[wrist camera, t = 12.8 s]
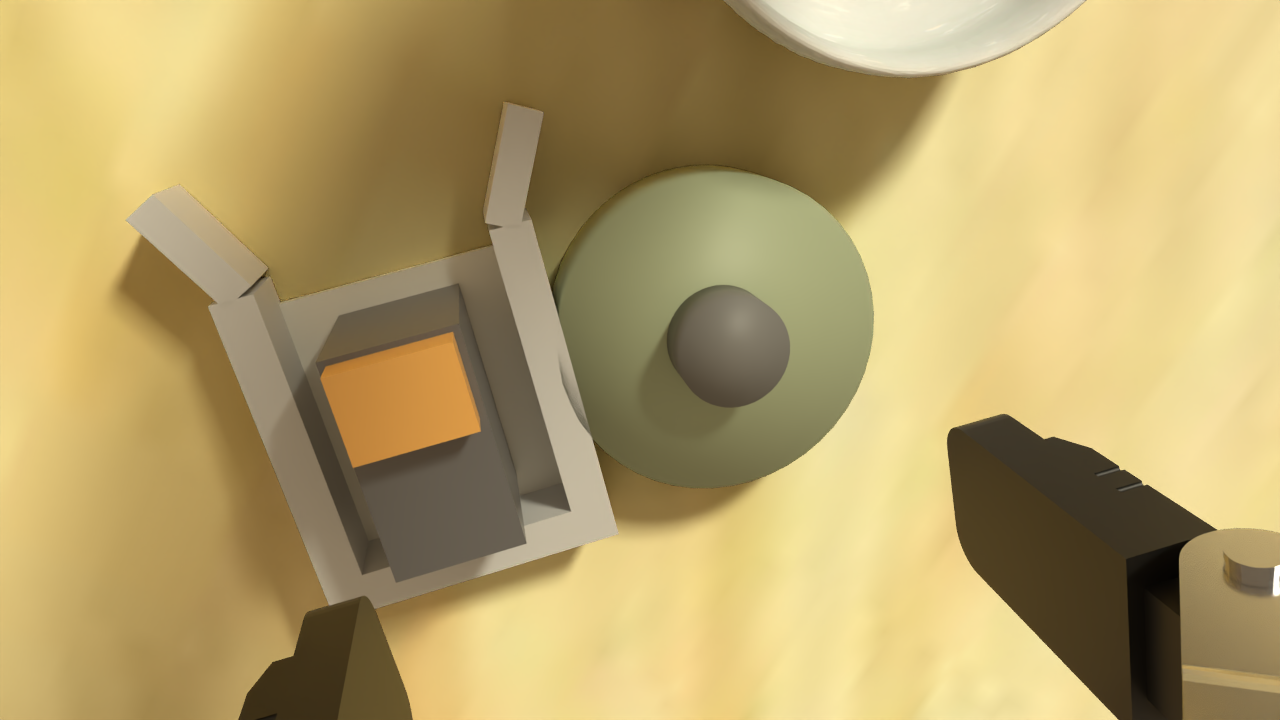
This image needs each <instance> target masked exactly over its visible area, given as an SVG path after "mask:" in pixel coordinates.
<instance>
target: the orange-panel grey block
mask: <svg viewBox="0 0 1280 720" xmlns="http://www.w3.org/2000/svg"><path fill="white" fill-rule="evenodd" d="M315 363H316V366H317V369H318V371H319V374H320V377H321V378H320V379H321V382H322V385H323V387H324V390H325V393H326V396H327V398H328V401H329V404H330V407H331V409H332V412H333V415H334V417H335V420H336V423H337V426H338V428H339V431H340V434H341V437H342V439H343V442H344V445H345V447H346V450H347V453H348V456H349V458H350V461H351V464H352V467H353V468H354V470H355V472H356V475H357V478H358V481H359V483H360V486H361V489H362V492H363V494H364V497H365V500H366V502H367V505H368V508H369V511H370V513H371V516H372V519H373V522H374V524H375V527H376V530H377V532H378V535H379V538H380V541H381V543H382V546H383V549H384V552H385V554H386V557H387V560H388V562H389V565H390V568H391V571H392V573H393V576H394V579H395V582H396V583H397V582H401V581H404V580H407V579H411V578H414V577H417V576H421V575H424V574H427V573H431V572H434V571H437V570H441V569H444V568H447V567H451V566H454V565H457V564H461V563H464V562H467V561H471V560H474V559H477V558H481V557H484V556H487V555H491V554H494V553H497V552H501V551H504V550H507V549H511V548H514V547H517V546H521V545H524V544H527V542H526V535H525V529H524V522H523V515H522V508H521V501H520V494H519V488H518V481H517V474H516V470H515V467H514V464H513V460H512V457H511V454H510V450H509V447H508V444H507V441H506V437H505V434H504V431H503V427H502V424H501V421H500V418H499V414H498V411H497V408H496V404H495V401H494V398H493V394H492V391H491V388H490V385H489V381H488V378H487V375H486V371H485V368H484V365H483V362H482V358H481V355H480V352H479V348H478V345H477V342H476V338H475V335H474V332H473V329H472V325H471V322H470V319H469V315H468V312H467V309H466V306H465V302H464V299H463V296H462V292H461V289H460V286H459V283H458V284H454V285H451V286H447V287H443V288H440V289H436V290H432V291H428V292H425V293H421V294H417V295H413V296H410V297H406V298H402V299H398V300H395V301H391V302H387V303H384V304H380V305H376V306H372V307H369V308H365V309H361V310H357V311H354V312H350V313H346V314H342V315H339V316H338V318H337V320H336V322H335V324H334V326H333V328H332V330H331V332H330V334H329V336H328V338H327V340H326V342H325V344H324V346H323V348H322V350H321V352H320V354H319V356H318V358H317V360H316V362H315Z"/></svg>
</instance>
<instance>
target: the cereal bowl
mask: <svg viewBox="0 0 1280 720" xmlns="http://www.w3.org/2000/svg"><path fill="white" fill-rule="evenodd" d="M723 1H725V3H726V4H728V5H729V6H730V7H731V8H732V9H733V10H734V11H735V12H736V13H737V14H738V15H739V16H741V17H742V18H743V19H744V20H745V21H747V22H748V23H749V24H750V25H752V26H753V27H755V28H756V29H757V30H758V31H759V32H761V33H763V34H765V35H766V36H767V37H769V38H770V39H771V40H773V41H774V42H775V43H777V44H780V45H782V46H784V47H785V48H787V49H788V50H790V51H793V52H795V53H796V54H798V55H799V56H802V57H806V58H809V59H811V60H813V61H815V62H817V63H822V64H825V65H827V66H830V67H835V68H840V69H843V70H846V71H854V72H858V73H864V74H867V75H876V76H886V77H903V78H915V77H926V76H936V75H944V74H949V73H953V72H957V71H961V70H965V69H969V68H973V67H976V66H979V65H982V64H984V63H987V62H990V61H992V60H995V59H998V58H1000V57H1003V56H1005V55H1007V54H1009V53H1011V52H1013V51H1015V50H1018V49H1019V48H1021V47H1023V46H1025V45H1026V44H1028V43H1030V42H1032V41H1033V40H1035V39H1037V38H1039V37H1040V36H1042V35H1043V34H1045V33H1046V32H1048V31H1049V30H1050V29H1052V28H1053V27H1055V26H1056V25H1057V24H1059V23H1060V22H1061V21H1063V20H1064V19H1065V18H1067V17H1068V16H1069V15H1070V14H1072V13H1073V12H1074V11H1075V10H1076V9H1077V8H1078V7H1080V6H1081V5H1082V4H1083V3H1084V2H1085V1H1086V0H723Z"/></svg>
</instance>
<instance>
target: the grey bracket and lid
mask: <svg viewBox="0 0 1280 720" xmlns="http://www.w3.org/2000/svg"><path fill="white" fill-rule="evenodd" d="M543 114H544V112H542V111H540V110H538V109H534V108H530V107H526V106H521V105H517V104H513V103H509V102H505V101H504V103H503V108H502V114H501V119H500V124H499V129H498V134H497V140H496V145H495V150H494V155H493V161H492V166H491V171H490V176H489V181H488V187H487V192H486V197H485V202H484V208H483V215H484V220H485V223H487V225H488V230H489V234H490V237H491V240H492V244H493V245H489V246H486V247H482V248H478V249H474V250H471V251H467V252H463V253H460V254H456V255H452V256H449V257H445V258H441V259H438V260H434V261H430V262H427V263H423V264H419V265H415V266H412V267H408V268H404V269H401V270H397V271H393V272H390V273H386V274H382V275H379V276H375V277H371V278H368V279H364V280H360V281H356V282H353V283H349V284H345V285H342V286H338V287H334V288H331V289H327V290H323V291H320V292H316V293H312V294H308V295H305V296H301V297H297V298H294V299H290V300H286V301H283V302H280V300H279V297H278V295H277V292H276V290H275V287H274V284H273V282H272V279H271V276H269V277H265V278H262V279H259V278H260V277H261V276H262V275H263V273H264V272H265V271H266V270H267V269H268V267H267V266H266V265H265V264H264V263H263V262H262V261H261V260H259V259H258V258H257V257H256V256H255V255H254V254H253V253H252V252H251V251H250V250H249V249H248V248H247V247H246V246H245V245H244V244H242V243H241V242H240V241H239V240H238V239H237V238H236V237H235V236H234V235H233V234H232V233H231V232H230V231H229V230H228V229H226V228H225V227H224V226H223V225H222V224H221V223H220V222H219V221H218V220H217V219H216V218H215V217H214V216H213V215H212V214H211V213H209V212H208V211H207V210H206V209H205V208H204V207H203V206H202V205H201V204H200V203H199V202H198V201H197V200H196V199H195V198H194V197H192V196H191V195H190V194H189V193H188V192H187V191H186V190H185V189H184V188H183V187H182V186H181V185H180V184H178V185H176V186H173V187H171V188H168V189H166V190H163V191H160V192H158V193H155V194H153V195H152V196H151V197H149V198H148V199H147V200H146V201H145V202H144V203H143V204H142V205H141V206H140V207H139V208H138V209H137V210H136V211H135V212H133V213H132V214H131V215H130V216H129V217H128V218H127V219H126V221H127V222H128V223H129V224H130V225H131V226H133V227H134V228H135V229H136V230H137V231H138V232H139V233H140V234H141V235H143V236H144V237H145V238H146V239H147V240H148V241H149V242H150V243H151V244H152V245H154V246H155V247H156V248H157V249H158V250H159V251H160V252H161V253H162V254H164V255H165V256H166V257H167V258H168V259H169V260H170V261H171V262H172V263H174V264H175V265H176V266H177V267H178V268H179V269H180V270H181V271H182V272H184V273H185V274H186V275H187V276H188V277H189V278H190V279H191V280H192V281H194V282H195V283H196V284H197V285H198V286H199V287H200V288H201V289H202V290H203V291H205V292H206V293H207V294H208V295H209V296H210V297H211V298H212V299H213V300H214V301H213V302H212V303H211V304H210V305H209V306H208V308H209V311H210V313H211V316H212V318H213V321H214V323H215V326H216V328H217V331H218V333H219V335H220V338H221V340H222V343H223V345H224V348H225V350H226V353H227V355H228V358H229V360H230V363H231V365H232V368H233V370H234V372H235V375H236V377H237V380H238V382H239V385H240V387H241V390H242V392H243V395H244V397H245V400H246V402H247V405H248V407H249V409H250V412H251V414H252V417H253V419H254V422H255V424H256V427H257V429H258V432H259V434H260V437H261V439H262V441H263V444H264V446H265V449H266V451H267V454H268V456H269V459H270V461H271V464H272V466H273V469H274V471H275V474H276V476H277V478H278V481H279V483H280V486H281V488H282V491H283V493H284V496H285V498H286V501H287V503H288V506H289V508H290V511H291V513H292V515H293V518H294V520H295V523H296V525H297V528H298V530H299V533H300V535H301V538H302V540H303V543H304V545H305V547H306V550H307V552H308V555H309V557H310V560H311V562H312V565H313V567H314V570H315V572H316V575H317V577H318V580H319V582H320V584H321V587H322V589H323V592H324V594H325V597H326V599H327V602H328V604H329V605H333V604H336V603H340V602H343V601H347V600H350V599H354V598H357V597H361V596H366V597H368V598H369V600H370V601H371V603H372V605H373V607H374V609H377V608H380V607H383V606H387V605H390V604H393V603H396V602H400V601H403V600H406V599H409V598H413V597H416V596H419V595H422V594H426V593H429V592H432V591H435V590H439V589H442V588H445V587H448V586H452V585H455V584H458V583H461V582H465V581H468V580H471V579H474V578H478V577H481V576H484V575H487V574H491V573H494V572H497V571H500V570H504V569H507V568H510V567H513V566H517V565H520V564H523V563H526V562H530V561H533V560H536V559H539V558H543V557H546V556H549V555H552V554H556V553H559V552H562V551H565V550H569V549H572V548H575V547H578V546H582V545H585V544H588V543H591V542H595V541H598V540H601V539H604V538H608V537H611V536H614V535H617V534H619V533H618V530H617V526H616V522H615V519H614V515H613V512H612V508H611V504H610V501H609V497H608V493H607V490H606V486H605V483H604V479H603V475H602V472H601V468H600V465H599V461H598V457H597V454H596V450H595V447H594V443H593V440H594V441H595V442H596V443H597V444H598V445H599V446H600V447H601V448H602V449H603V450H604V451H605V452H606V453H607V454H609V455H610V456H611V457H612V458H614V459H615V460H616V461H618V462H619V463H620V464H622V465H624V466H625V467H627V468H629V469H631V470H632V471H634V472H636V473H638V474H640V475H643V476H645V477H647V478H650V479H652V480H655V481H658V482H662V483H666V484H670V485H673V486H681V487H688V488H718V487H727V486H734V485H738V484H742V483H746V482H750V481H753V480H756V479H759V478H761V477H764V476H767V475H769V474H772V473H774V472H775V471H777V470H779V469H781V468H783V467H785V466H787V465H789V464H790V463H792V462H793V461H795V460H796V459H798V458H799V457H801V456H802V455H804V454H805V453H806V452H808V451H809V450H810V449H811V448H812V447H814V446H815V445H816V444H817V443H818V442H819V441H821V439H822V438H823V437H824V436H825V435H826V434H827V433H828V432H829V431H830V430H831V429H832V428H833V427H834V425H835V424H836V423H837V421H838V420H839V419H840V417H841V416H842V415H843V413H844V412H845V411H846V409H847V407H848V406H849V404H850V402H851V400H852V399H853V397H854V395H855V393H856V392H857V389H858V387H859V385H860V382H861V380H862V378H863V375H864V373H865V369H866V366H867V362H868V359H869V355H870V350H871V344H872V338H873V323H874V311H873V300H872V292H871V288H870V284H869V279H868V275H867V272H866V270H865V267H864V264H863V262H862V259H861V256H860V254H859V253H858V251H857V249H856V247H855V245H854V243H853V242H852V240H851V238H850V237H849V235H848V234H847V233H846V231H845V230H844V229H843V227H842V226H841V225H840V223H839V222H838V221H837V220H836V219H835V218H834V217H833V216H832V215H831V214H830V213H829V212H828V211H827V210H826V209H825V208H824V207H822V206H821V205H820V204H818V203H817V202H816V201H814V200H813V199H812V198H810V197H809V196H808V195H806V194H804V193H802V192H800V191H798V190H797V189H795V188H793V187H791V186H789V185H786V184H784V183H781V182H778V181H776V180H773V179H770V178H767V177H764V176H761V175H758V174H755V173H752V172H749V171H746V170H741V169H737V168H732V167H728V166H716V165H695V166H684V167H679V168H674V169H669V170H665V171H662V172H659V173H656V174H653V175H650V176H648V177H645V178H643V179H641V180H639V181H637V182H635V183H633V184H631V185H629V186H628V187H626V188H625V189H623V190H622V191H620V192H619V193H617V194H616V195H614V196H613V197H611V198H610V199H609V200H608V201H607V202H606V203H604V204H603V205H602V206H601V207H600V208H599V209H598V210H596V211H595V213H594V214H593V215H592V216H591V217H590V218H589V219H588V221H587V222H586V223H585V224H584V225H583V226H582V227H581V229H580V230H579V232H578V233H577V235H576V236H575V238H574V239H573V241H572V242H571V244H570V246H569V248H568V250H567V252H566V254H565V256H564V258H563V260H562V262H561V264H560V267H559V270H558V273H557V276H556V279H555V282H554V287H553V292H551V288H550V284H549V281H548V277H547V274H546V270H545V266H544V263H543V259H542V256H541V252H540V248H539V245H538V241H537V237H536V234H535V230H534V227H533V223H532V219H531V217H530V216H529V214H528V212H527V210H526V208H525V203H526V199H527V194H528V189H529V184H530V179H531V174H532V169H533V164H534V159H535V154H536V149H537V144H538V139H539V134H540V129H541V124H542V119H543ZM458 283H459V286H460V289H461V292H462V296H463V299H464V302H465V306H466V309H467V312H468V315H469V319H470V322H471V325H472V329H473V332H474V335H475V338H476V342H477V345H478V348H479V352H480V355H481V358H482V362H483V365H484V368H485V371H486V375H487V378H488V381H489V385H490V388H491V391H492V394H493V398H494V401H495V404H496V408H497V411H498V414H499V418H500V421H501V424H502V427H503V431H504V434H505V437H506V441H507V444H508V447H509V450H510V454H511V457H512V460H513V464H514V467H515V470H516V474H517V481H518V488H519V494H520V501H521V508H522V515H523V522H524V529H525V535H526V542H527V544H524V545H521V546H517V547H514V548H511V549H507V550H504V551H501V552H497V553H494V554H491V555H487V556H484V557H481V558H477V559H474V560H471V561H467V562H464V563H461V564H457V565H454V566H451V567H447V568H444V569H441V570H437V571H434V572H431V573H427V574H424V575H421V576H417V577H414V578H411V579H407V580H404V581H401V582H397V583H396V582H395V579H394V576H393V573H392V571H391V568H390V565H389V562H388V560H387V557H386V554H385V552H384V549H383V546H382V543H381V541H380V538H379V535H378V532H377V530H376V527H375V524H374V522H373V519H372V516H371V513H370V511H369V508H368V505H367V502H366V500H365V497H364V494H363V492H362V489H361V486H360V483H359V481H358V478H357V475H356V472H355V470H354V468H353V467H352V464H351V461H350V458H349V456H348V453H347V450H346V447H345V445H344V442H343V439H342V437H341V434H340V431H339V428H338V426H337V423H336V420H335V417H334V415H333V412H332V409H331V407H330V404H329V401H328V398H327V396H326V393H325V390H324V387H323V385H322V382H321V379H320V378H321V377H320V374H319V371H318V369H317V366H316V363H315V362H316V360H317V358H318V356H319V354H320V352H321V350H322V348H323V346H324V344H325V342H326V340H327V338H328V336H329V334H330V332H331V330H332V328H333V326H334V324H335V322H336V320H337V318H338V316H339V315H342V314H346V313H350V312H354V311H357V310H361V309H365V308H369V307H372V306H376V305H380V304H384V303H387V302H391V301H395V300H398V299H402V298H406V297H410V296H413V295H417V294H421V293H425V292H428V291H432V290H436V289H440V288H443V287H447V286H451V285H454V284H458Z"/></svg>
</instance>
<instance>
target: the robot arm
mask: <svg viewBox="0 0 1280 720" xmlns="http://www.w3.org/2000/svg"><path fill="white" fill-rule="evenodd" d="M947 449H948V458H949V467H950V475H951V484H952V493H953V502H954V511H955V520H956V527H957V533H958V537H959V540H960V543H961V546H962V548H963V551H964V553H965V555H966V557H967V559H968V561H969V562H970V564H971V566H972V567H973V568H974V570H975V571H976V572H977V573H978V574H979V575H980V576H981V577H982V578H983V580H984V581H985V582H986V583H987V584H988V585H989V586H990V587H991V588H992V589H993V590H994V591H995V592H996V593H997V594H998V595H999V596H1000V597H1001V598H1002V599H1003V600H1004V601H1005V602H1006V603H1007V604H1008V605H1009V607H1010V608H1011V609H1012V610H1013V611H1014V612H1015V613H1016V614H1017V615H1018V616H1019V617H1020V618H1021V619H1022V620H1023V621H1024V622H1025V623H1026V624H1027V625H1028V626H1029V627H1030V628H1031V629H1032V630H1033V631H1034V632H1035V633H1036V635H1037V636H1038V637H1039V638H1040V639H1041V640H1042V641H1043V642H1044V643H1045V644H1046V645H1047V646H1048V647H1049V648H1050V649H1051V650H1052V651H1053V652H1054V653H1055V654H1056V655H1057V656H1058V657H1059V658H1060V659H1061V660H1062V662H1063V663H1064V664H1065V665H1066V666H1067V667H1068V668H1069V669H1070V670H1071V671H1072V672H1073V673H1074V674H1075V675H1076V676H1077V677H1078V678H1079V679H1080V680H1081V681H1082V682H1083V683H1084V684H1085V685H1086V686H1087V687H1088V688H1089V690H1090V691H1091V692H1092V693H1093V694H1094V695H1095V696H1096V697H1097V698H1098V699H1099V700H1100V701H1101V702H1102V703H1103V704H1104V705H1105V706H1106V707H1107V708H1108V709H1109V710H1110V711H1111V712H1112V713H1113V714H1114V715H1115V717H1116V718H1117V719H1118V720H1280V533H1278V532H1273V531H1267V530H1260V529H1246V528H1235V529H1223V530H1217V529H1215V528H1213V527H1212V526H1210V525H1209V524H1207V523H1206V522H1204V521H1203V520H1201V519H1200V518H1198V517H1196V516H1195V515H1193V514H1192V513H1190V512H1189V511H1187V510H1186V509H1184V508H1183V507H1181V506H1180V505H1178V504H1176V503H1175V502H1173V501H1172V500H1170V499H1169V498H1167V497H1166V496H1164V495H1163V494H1161V493H1160V492H1158V491H1156V490H1155V489H1153V488H1152V487H1150V486H1149V485H1145V486H1144V485H1143V484H1142V481H1141V480H1139V479H1138V478H1136V477H1135V476H1133V475H1132V474H1130V473H1129V472H1127V471H1126V470H1120V469H1119V466H1118V465H1116V464H1115V463H1113V462H1112V461H1110V460H1109V459H1107V458H1106V457H1104V456H1103V455H1101V454H1099V453H1098V452H1096V451H1095V450H1093V449H1092V448H1089V447H1086V446H1082V445H1079V444H1076V443H1072V442H1069V441H1066V440H1062V439H1059V438H1056V437H1051V438H1047V439H1043V438H1041V437H1040V436H1038V435H1037V434H1036V433H1034V432H1033V431H1031V430H1030V429H1028V428H1027V427H1025V426H1024V425H1022V424H1021V423H1020V422H1018V421H1017V420H1015V419H1014V418H1012V417H1011V416H1009V415H1006V414H1000V415H997V416H994V417H990V418H987V419H983V420H980V421H976V422H973V423H969V424H966V425H962V426H959V427H955V428H953V429H951V430H950V431H949V434H948V438H947ZM239 720H413V719H412V713H411V708H410V703H409V699H408V696H407V693H406V690H405V687H404V684H403V682H402V679H401V676H400V674H399V671H398V669H397V666H396V663H395V661H394V658H393V655H392V653H391V650H390V648H389V645H388V642H387V640H386V637H385V635H384V632H383V629H382V627H381V624H380V621H379V619H378V616H377V614H376V611H375V609H374V607H373V605H372V603H371V601H370V600H369V598H368V597H366V596H361V597H357V598H354V599H350V600H347V601H343V602H340V603H336V604H333V605H329V606H326V607H322V608H319V609H315V610H312V611H309V612H307V613H306V615H305V617H304V620H303V624H302V627H301V631H300V634H299V638H298V642H297V645H296V649H295V652H294V656H292V657H289V658H285V659H282V660H278V661H275V662H272V664H271V665H270V666H269V667H268V669H267V670H266V671H265V672H264V674H263V675H262V676H261V677H260V679H259V680H258V681H257V682H256V684H255V685H254V686H253V687H252V688H251V690H250V691H249V692H248V693H247V696H246V699H245V702H244V705H243V708H242V711H241V714H240V717H239Z"/></svg>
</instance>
